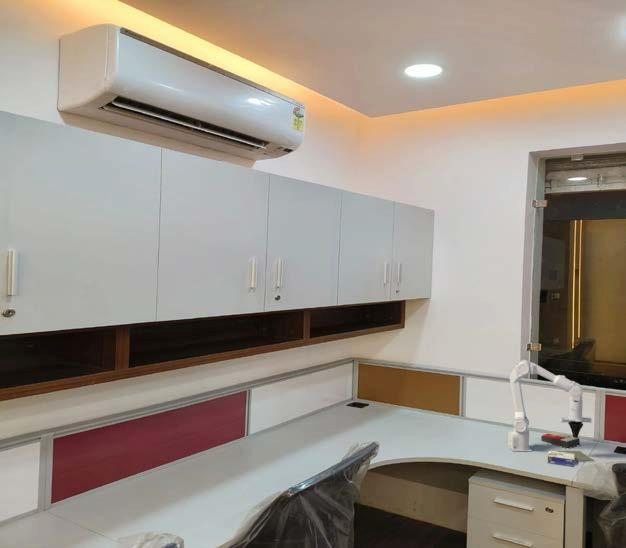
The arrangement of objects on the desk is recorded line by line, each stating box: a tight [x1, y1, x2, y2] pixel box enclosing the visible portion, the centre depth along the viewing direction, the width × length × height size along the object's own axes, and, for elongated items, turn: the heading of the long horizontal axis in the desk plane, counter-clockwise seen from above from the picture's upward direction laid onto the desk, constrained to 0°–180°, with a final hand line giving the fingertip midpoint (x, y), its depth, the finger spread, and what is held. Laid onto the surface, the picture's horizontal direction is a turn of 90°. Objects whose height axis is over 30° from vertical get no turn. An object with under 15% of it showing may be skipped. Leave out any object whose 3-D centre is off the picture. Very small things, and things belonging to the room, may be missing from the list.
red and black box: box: [540, 431, 581, 449], centre depth 291 cm, size 11×4×15 cm
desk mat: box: [557, 450, 595, 462], centre depth 269 cm, size 11×14×1 cm
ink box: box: [546, 450, 576, 467], centre depth 263 cm, size 12×2×12 cm
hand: (575, 437), depth 269 cm, fingers closed
